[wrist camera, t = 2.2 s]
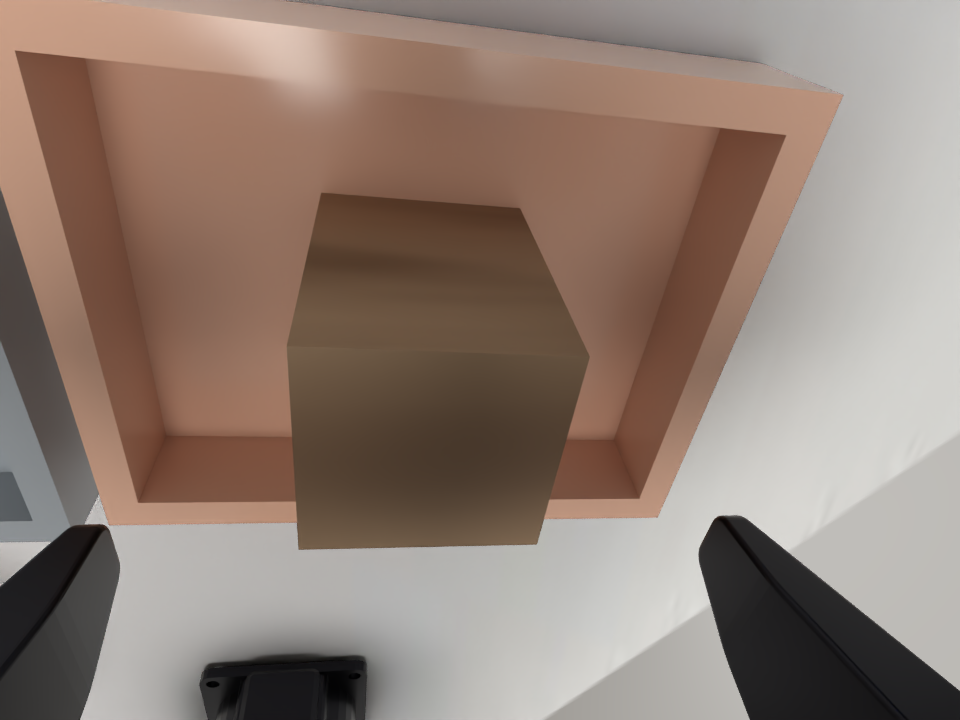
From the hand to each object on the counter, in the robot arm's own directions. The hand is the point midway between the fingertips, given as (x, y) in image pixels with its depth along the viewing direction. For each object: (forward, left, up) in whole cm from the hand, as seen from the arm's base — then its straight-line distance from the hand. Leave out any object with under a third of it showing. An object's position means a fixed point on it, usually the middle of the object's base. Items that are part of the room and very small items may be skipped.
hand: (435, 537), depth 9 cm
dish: (0, 0, -8) cm, 8 cm away
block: (0, 0, -8) cm, 8 cm away
